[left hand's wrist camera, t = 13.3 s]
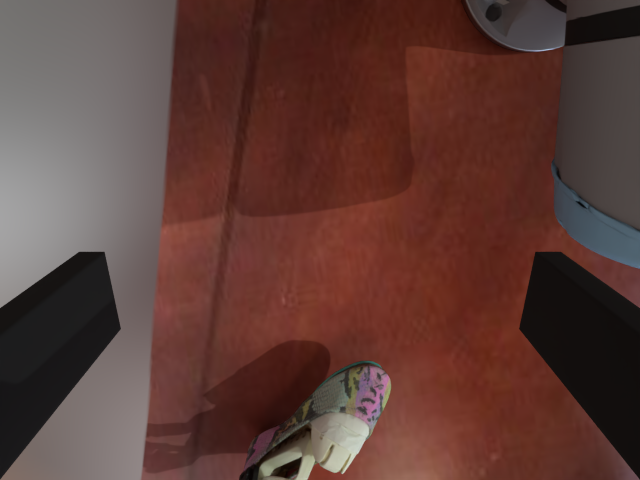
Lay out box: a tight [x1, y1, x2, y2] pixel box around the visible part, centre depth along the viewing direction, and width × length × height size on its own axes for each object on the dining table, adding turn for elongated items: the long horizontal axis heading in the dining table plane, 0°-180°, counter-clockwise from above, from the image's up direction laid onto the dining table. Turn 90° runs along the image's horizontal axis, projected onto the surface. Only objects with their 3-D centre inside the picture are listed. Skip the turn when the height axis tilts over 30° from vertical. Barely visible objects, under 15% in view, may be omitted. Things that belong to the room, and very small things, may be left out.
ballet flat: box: [244, 361, 391, 480], centre depth 47 cm, size 8×24×9 cm, turn 138°
